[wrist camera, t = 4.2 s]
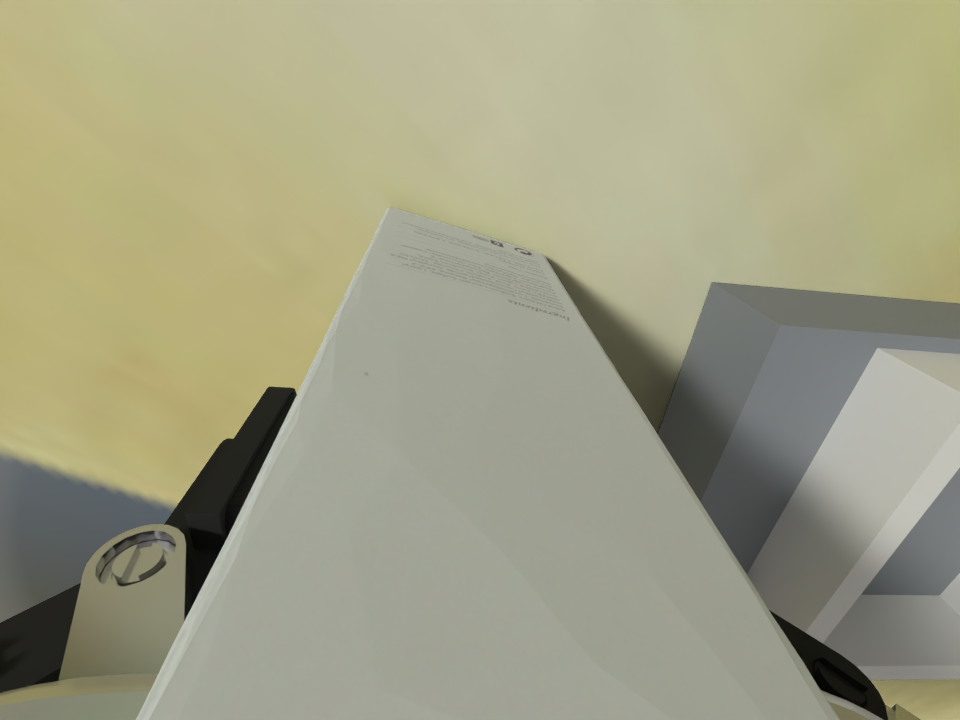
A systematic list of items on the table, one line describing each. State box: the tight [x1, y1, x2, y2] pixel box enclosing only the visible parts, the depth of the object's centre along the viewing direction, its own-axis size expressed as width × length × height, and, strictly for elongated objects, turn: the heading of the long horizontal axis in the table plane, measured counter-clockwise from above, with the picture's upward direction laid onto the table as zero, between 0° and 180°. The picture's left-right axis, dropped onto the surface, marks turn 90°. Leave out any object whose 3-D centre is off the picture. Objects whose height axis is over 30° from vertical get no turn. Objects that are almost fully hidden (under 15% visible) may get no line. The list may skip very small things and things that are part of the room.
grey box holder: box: [658, 282, 960, 680], centre depth 18 cm, size 18×14×7 cm
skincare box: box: [136, 207, 840, 720], centre depth 11 cm, size 8×6×15 cm
